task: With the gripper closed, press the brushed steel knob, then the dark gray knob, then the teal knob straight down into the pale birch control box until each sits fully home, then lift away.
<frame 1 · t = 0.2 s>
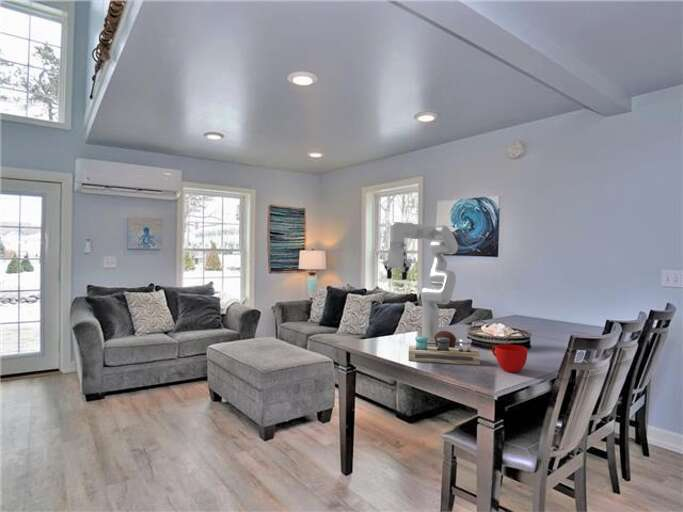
hand: (396, 279, 217), 37 cm above the table, fingers open, 9 cm apart
teal knob: (421, 344, 201), point 7 cm above the table, slide at 3.0 cm
ceramic cup: (507, 369, 184), on the table
control box: (442, 360, 199), on the table
steel knob: (464, 346, 197), point 7 cm above the table, slide at 3.0 cm
muffin: (445, 351, 218), on the table
dark gray knob: (443, 345, 199), point 7 cm above the table, slide at 3.0 cm
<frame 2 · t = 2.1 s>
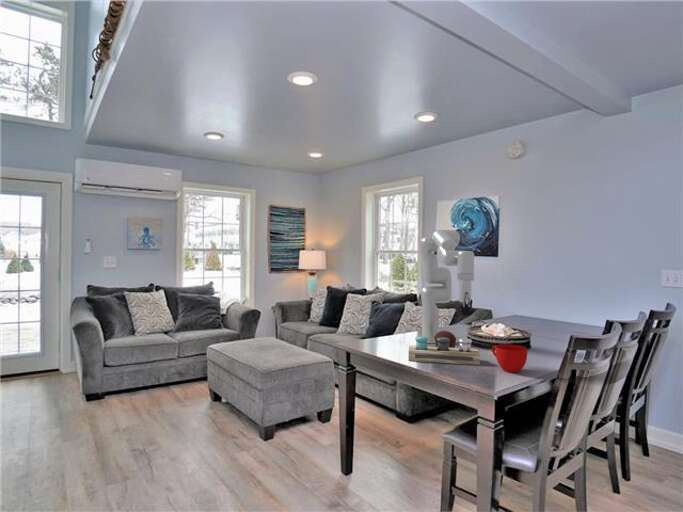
hand: (465, 314, 197), 22 cm above the table, fingers open, 8 cm apart
nothing on the table moved.
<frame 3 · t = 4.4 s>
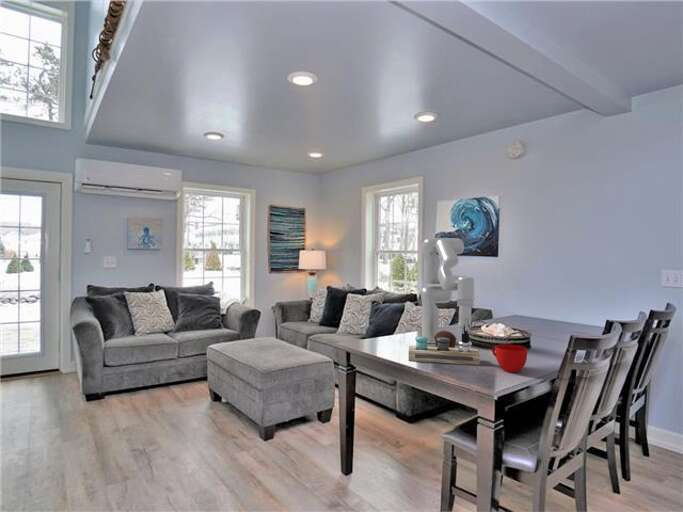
hand: (465, 342, 197), 9 cm above the table, fingers closed
steel knob: (464, 348, 197), point 6 cm above the table, slide at 1.9 cm, touching gripper
everything else where it was.
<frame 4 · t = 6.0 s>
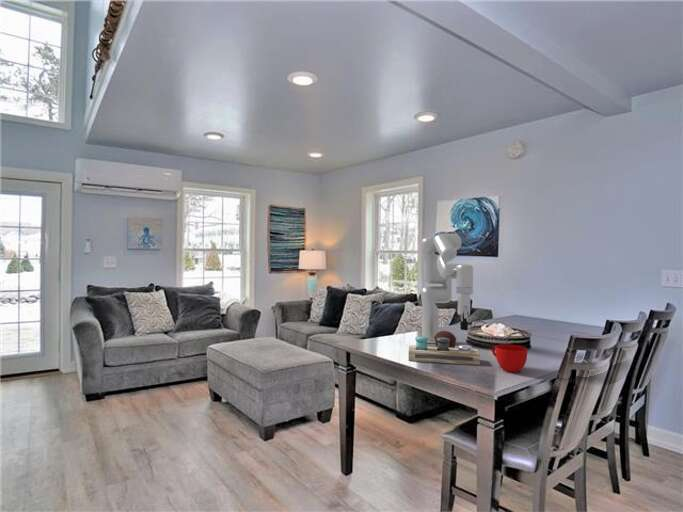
hand: (464, 329, 197), 15 cm above the table, fingers closed
steel knob: (464, 352, 197), point 4 cm above the table, slide at -0.1 cm
everything else where it was.
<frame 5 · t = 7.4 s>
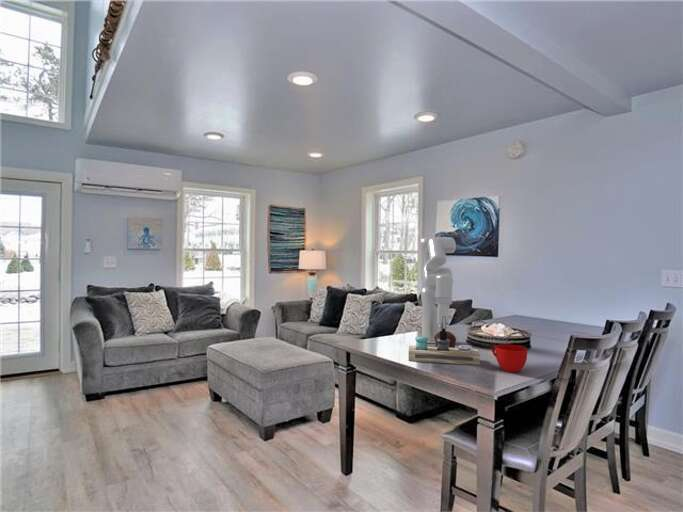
hand: (443, 339, 198), 10 cm above the table, fingers closed
dark gray knob: (443, 346, 199), point 7 cm above the table, slide at 2.6 cm, touching gripper
everything else where it was.
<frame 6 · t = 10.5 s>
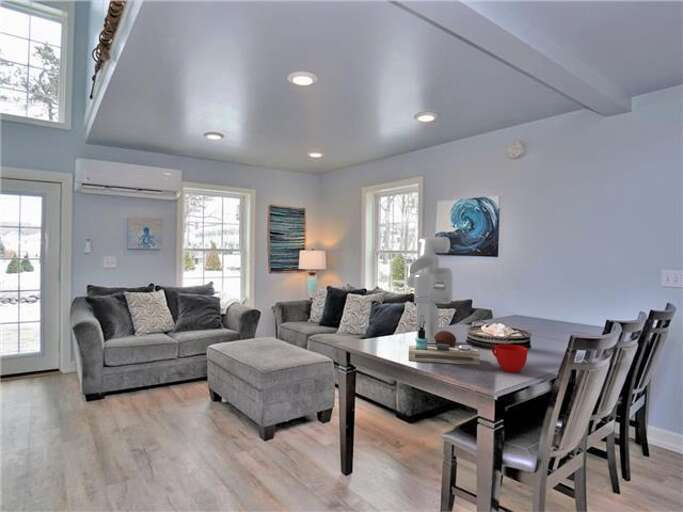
hand: (421, 338, 200), 10 cm above the table, fingers closed
teal knob: (421, 344, 201), point 7 cm above the table, slide at 2.7 cm, touching gripper
dark gray knob: (443, 351, 199), point 4 cm above the table, slide at -0.1 cm
everything else where it was.
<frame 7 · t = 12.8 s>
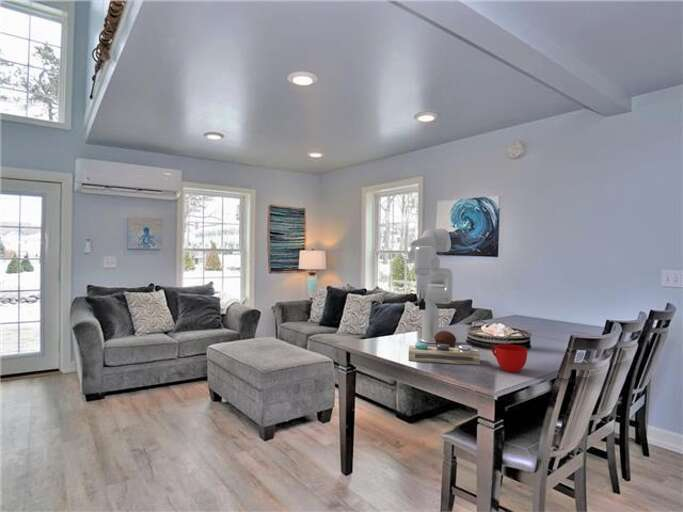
hand: (422, 309, 204), 23 cm above the table, fingers closed
teal knob: (421, 350, 201), point 4 cm above the table, slide at -0.1 cm
everything else where it was.
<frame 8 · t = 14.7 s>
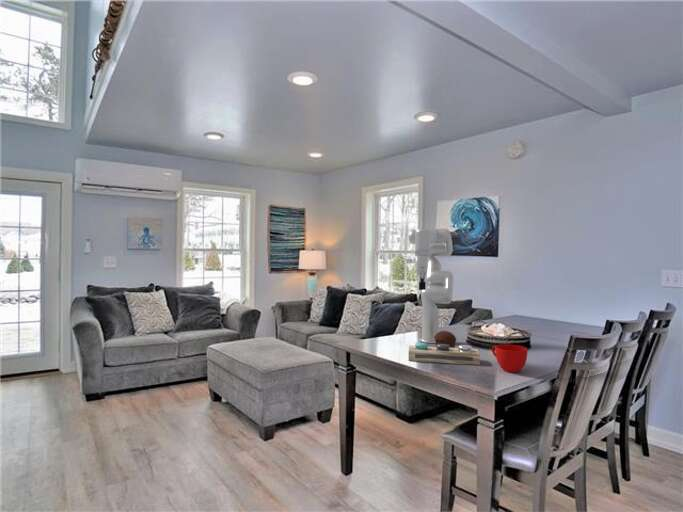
hand: (422, 289, 212), 32 cm above the table, fingers closed
nothing on the table moved.
at the end: steel knob slide at -0.1 cm; dark gray knob slide at -0.1 cm; teal knob slide at -0.1 cm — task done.
